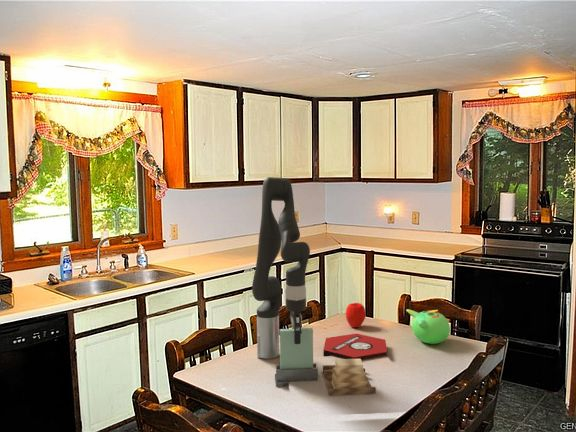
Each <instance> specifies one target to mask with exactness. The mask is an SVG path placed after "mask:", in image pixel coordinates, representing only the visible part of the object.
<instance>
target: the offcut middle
mask: <svg viewBox="0 0 576 432" xmlns="http://www.w3.org/2000/svg"><path fill="white" fill-rule="evenodd" d="M333 377H334V379H335V380H336V382H337V383H338V384H340V383H353V382H365V381H366V377H367V375H366V371H365V372H364V370H363V373H361V374H337V372H336V368H333Z"/></svg>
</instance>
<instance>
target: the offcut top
mask: <svg viewBox="0 0 576 432" xmlns="http://www.w3.org/2000/svg"><path fill="white" fill-rule="evenodd" d="M334 360H335V362H334V365H335V368H336V372H337V374H361V373H363V368H364V364H363V362H362V361H363V360H361V359H343V358H335V359H334Z"/></svg>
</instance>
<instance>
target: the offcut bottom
mask: <svg viewBox="0 0 576 432" xmlns="http://www.w3.org/2000/svg"><path fill="white" fill-rule="evenodd" d="M332 385H333V387H334V389H337V388H359V387H367V382H366V381H365V382H353V383H340V384H338V383H337V382H336V380H335V379H334V377H333V375H332Z"/></svg>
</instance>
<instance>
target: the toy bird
mask: <svg viewBox="0 0 576 432" xmlns="http://www.w3.org/2000/svg"><path fill="white" fill-rule="evenodd" d="M405 311H406V312H407V313H408V314H409V315H410V316H411V317H413V319H412V321H411V330H412V332H413V335H414V336H415V337H416V338H417V339H418V340H419V341H420V342H422V343H426V344H429V345H435V344H440V343H443V342H444V341H446V340H447V339H448V337H449V336H450V332H451V325H450V323H449V321H448V319H447V317H445V315H443V314H442V313H440V312H438V311H439V309H433V310H423V311H421V312H417V311H415V310H412V309H409V308H408V309H406V310H405Z"/></svg>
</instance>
